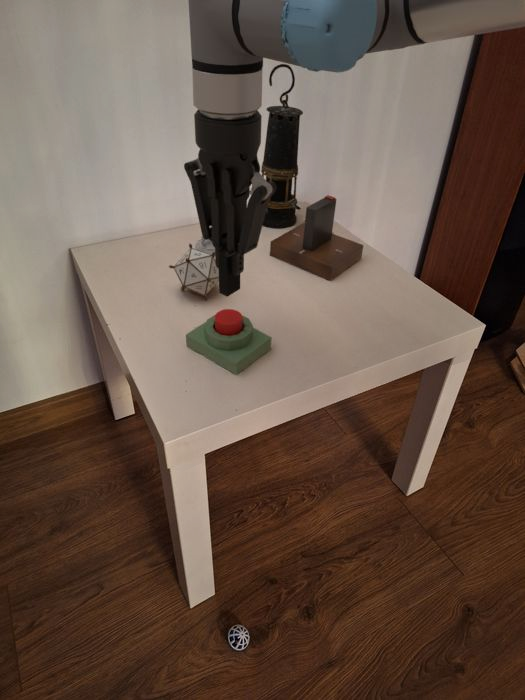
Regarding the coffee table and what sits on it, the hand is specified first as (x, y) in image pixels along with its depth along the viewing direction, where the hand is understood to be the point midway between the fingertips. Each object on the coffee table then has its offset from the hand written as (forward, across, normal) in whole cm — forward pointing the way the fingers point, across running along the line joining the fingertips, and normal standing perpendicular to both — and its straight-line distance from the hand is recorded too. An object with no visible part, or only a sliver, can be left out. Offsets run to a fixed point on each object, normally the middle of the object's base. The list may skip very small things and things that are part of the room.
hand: (229, 290), depth 73 cm
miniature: (+10, +23, -22) cm, 34 cm away
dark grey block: (+7, +6, -32) cm, 33 cm away
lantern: (+10, +22, -40) cm, 47 cm away
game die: (+10, +14, -8) cm, 19 cm away
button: (+7, 0, 0) cm, 7 cm away
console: (+10, +6, -32) cm, 34 cm away
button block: (+10, 0, 0) cm, 10 cm away
